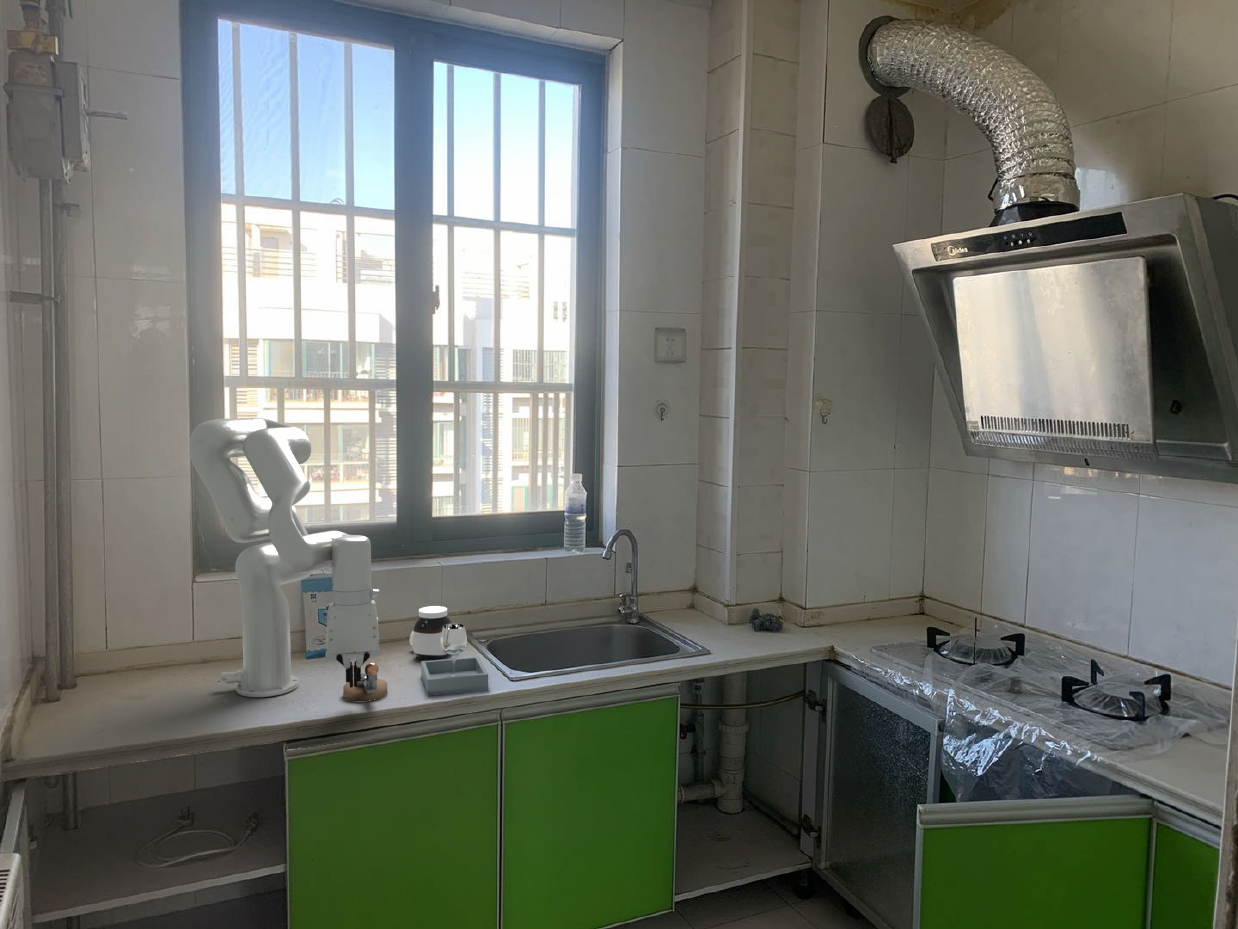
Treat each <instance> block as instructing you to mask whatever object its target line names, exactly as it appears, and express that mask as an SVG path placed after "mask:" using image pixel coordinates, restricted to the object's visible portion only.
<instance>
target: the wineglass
mask: <svg viewBox="0 0 1238 929" xmlns="http://www.w3.org/2000/svg"><path fill="white" fill-rule="evenodd" d="M467 642H468V637H467V632H466V628H465V625H464V624H463V623H452V624H447V625H444V626H443V629H442V633H441V640H440V643H441V648H442V650H443V651H444V652H445V653H447V654H449V655H451V658H450V659H451V660H452V664H453V673H452V675H451V676H458V675H456V674H455V662H456V658H457V657H456V655H459V654H461V653H462V652H464V651H465V649H466V648H467ZM447 677H450V676H447Z"/></svg>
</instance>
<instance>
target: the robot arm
mask: <svg viewBox="0 0 1238 929" xmlns="http://www.w3.org/2000/svg"><path fill="white" fill-rule="evenodd" d="M189 438H190V439H189V446H188V447H189V448H188V449H189V456H190V461H191V463H192V466H193V468H194V469H195V471H196V473H197V474H198V476H199V478H200V479H201V481H202V482H203V483H204V486H205V487H206V488H207V490H208V492H209V494H210V496H211V497H210V498H211V499H212V502H213V505H214V506H215V509H216V511H217V514H218V515H219V517H220V520H221V523H222V525H223V527H224V528H225V531H226V533H227V535H228V537H229V538H230V539H231V540H232V541H234V542H235V543H240V544H246V543H253V542H259V541H265V540H270V542H268V541H267V542H263V543H258V544H256V545H252V546H250V547H247V548H245V549H244V550H243V551H242V552H240V553H239V555H238V557H237V558H236V561H235V567H234V568H235V573H236V574H235V575H236V580H237V582H238V587H239V594H240V602H241V621H242V626H241V627H242V659H243V661H242V668H241V669H237V670H236V671H227V672H226V671H225V672H223V671H222V672H221V673H220V674H221V675H220V681H221V682H222V683H223V682H225V684H235V683H236V686H235V691H236V693H237V694H238V695H240V696H242V697H247V698H266V697H267V698H268V697H269V698H270V697H275V696H280V695H284V694H287V693H289V692H291V691H293V690H295V689H297V688H298V687H299V683H300V682H299V678H298V677H297V676H296V675H293V674H292V668H291V667H292V663H291V662H292V660H291V619H290V618H291V616H290V615H291V614H290V613H291V612H290V604H289V601H288V599H287V597H286V595H285V593H284V592H283V590H282V588H281V586H282V585H286V584H289V583H294V582H298V581H301V580H304V579H307V578H309V577H311V575H312V574H313V573H314V572H316V571H320V570H321V571H322V570H325V569H330V568H332V570H331V571H332V572H331V573H332V574H331V576H332V577H331V578H332V579H331V580H332V581H331V582H332V602H329V604H328V608H327V616H326V636H325V638H326V652H325V659H326V660H332V661H336V662H338V663H340V664H341V665H342V666H343V668H345V684H346V683H348V682H350V688H352V687H353V681H354V687H357V682H358V681H361V674H362V667H363V665H364V664H365V663H366V662H367V661H368V659H370V658H375V657H377V656H380V655H381V650H380V646H379V643H380V642H379V641H380V634H379V633H380V631H379V630H380V629H379V616H378V609H377V604H376V603H377V602H376V601H375V600H374V598H376V597H380V590H379V589H375V588H373V587H372V544H371V540H370V539H369V537H367V536H365V535H361V534H349V533H346V532H343V531H339V530H326V531H322V532H320V531H319V532H315V533H309V534H308V531H307V529H306V526H305V524H304V522H303V520H302V518H301V515H300V514H299V511H298V510H297V508H296V506H295V505H296V504H297V503H299V502H300V501H302V499H304V498H305V497H306V496H307V495H308V494H309V492H310V490H311V484H310V481H309V479H308V478H307V476H306V473H304V471H303V469H302V467H301V466H300V465H302V464H305V463H306V462H307V461H309V459H310V457H311V455H312V454H311V453H312V444H311V441H310V439H309V437H308V436H307V434H306V433H305V432H304V431H303V430H302V429H300V428H298V427H296V426H293V425H290V424H286V423H281V422H278V421H274V420H271V419H268V418H262V417H243V418H241V417H240V418H236V417H235V418H217V419H216V418H215V419H211V420H207V421H204V422H201V423H199V424H198V425H197V426H196V427H195V428H194V429H193V431H192V432H191V435H190V437H189ZM240 457H245V458H246V460H247V461H248V463H249V465H250V467H251V469H252V471H253V472H254V474H255V475H256V477H257V479H258V482H259V483H260V485H261V487H262V488H263V489H264V492H265V494H266V495H265V496H260V495H259V494H258V493H257V492H256V490H255V488H254V486H253V484H252V482H251V479H250V478H249V476H248V475H247V473H246V472H245V471H244V470H243V469H242V468H241V467H239V466H238V465H237V464H236V463H234V461H232V459H231V458H240ZM350 654H356V660H355V661H354V664H353V663H352V661H351V658H350Z"/></svg>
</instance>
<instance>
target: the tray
mask: <svg viewBox="0 0 1238 929" xmlns="http://www.w3.org/2000/svg"><path fill="white" fill-rule="evenodd" d="M420 665H421V666H420V668H421V669H420V672H421V675H420V676H421V680H422V683H423V687H424V689H425V692H426V695H431V696H436V695H435V694H441V695H446V694H445V693H451V694H461V693H468V692H469V693H470V692H481V691H480V690H482V691H488V690H489V673H488V671H487V669H486V668H485V665H484V664H483V662H482V660H481V659H480V656H469V657H458V658H457V657H456V662H455V674H456V675H458V676H451V675H452V673H453V664H452V660H451V658H447V659H446V658H444V659H440V660H423V661H422V660H421V661H420ZM447 676H450V677H447Z"/></svg>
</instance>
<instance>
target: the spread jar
mask: <svg viewBox="0 0 1238 929" xmlns="http://www.w3.org/2000/svg"><path fill="white" fill-rule="evenodd" d="M418 616H419V617H418V618H417V619H416V621H415V623H414V626H413V630H412V631H411V633H410V636H409V644H410V646H412V648H413V649H412V650H413V653H414V655H415V656H416V657H417V658H418V659H421V660H423V661H432V660H444V659H446V658H447V657H448V656H449V655H450V654H447V653H445V652H444V651H443V650H442V648H441V643H440V640H441V633H442V629H443V626H444V625H447V624H453V622H452V620H451V618H450V617H449V616H448V607H445V606H441V605H430V606H425V607H421V608H419V609H418Z"/></svg>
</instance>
